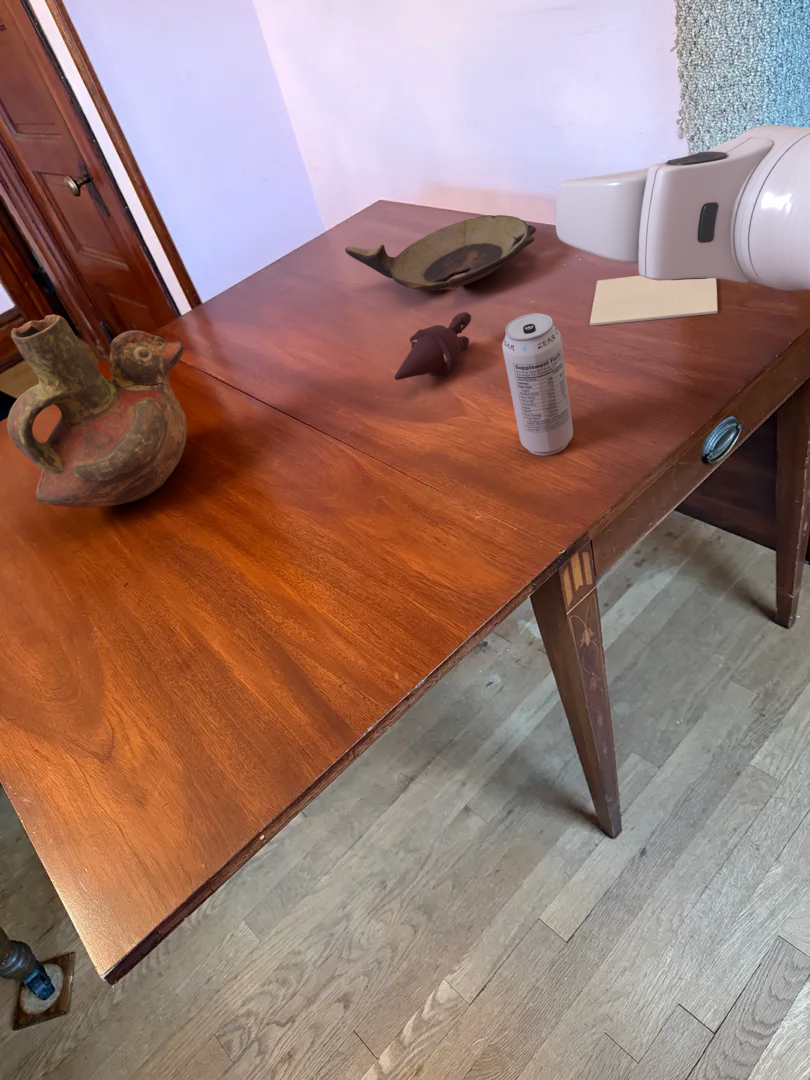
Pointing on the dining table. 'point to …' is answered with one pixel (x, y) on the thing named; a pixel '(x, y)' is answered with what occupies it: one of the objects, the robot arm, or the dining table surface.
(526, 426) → the energy drink can
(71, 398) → the ceramic vessel
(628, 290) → the beige rectangular board
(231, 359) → the dining table surface
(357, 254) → the olive ceramic shallow bowl
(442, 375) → the maroon pointed figurine
